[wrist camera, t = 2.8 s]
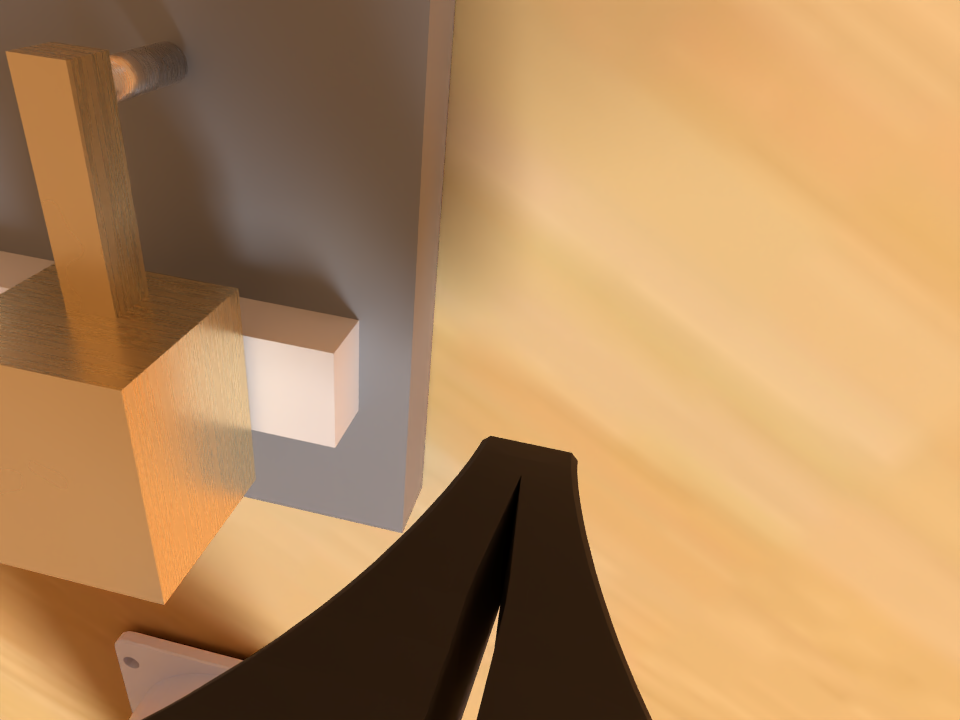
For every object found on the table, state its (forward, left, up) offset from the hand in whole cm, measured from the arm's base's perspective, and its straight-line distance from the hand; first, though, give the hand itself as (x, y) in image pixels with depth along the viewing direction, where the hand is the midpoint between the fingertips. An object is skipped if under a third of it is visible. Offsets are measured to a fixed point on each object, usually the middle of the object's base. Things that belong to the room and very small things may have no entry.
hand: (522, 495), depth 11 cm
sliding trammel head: (+2, +6, -2) cm, 7 cm away
